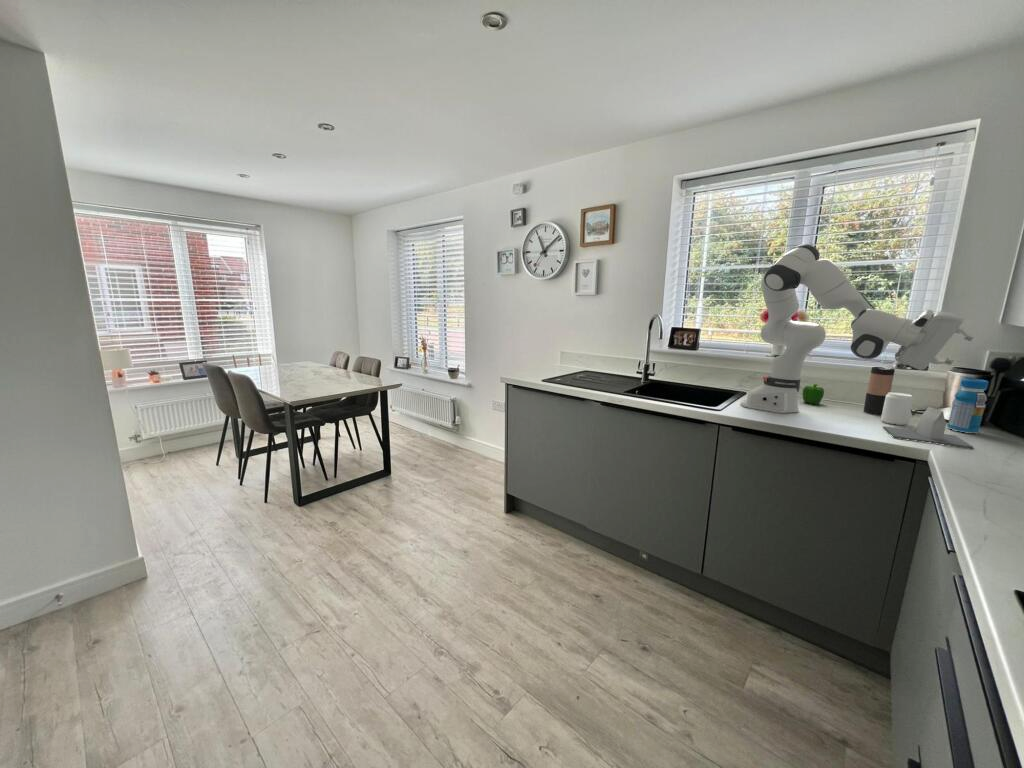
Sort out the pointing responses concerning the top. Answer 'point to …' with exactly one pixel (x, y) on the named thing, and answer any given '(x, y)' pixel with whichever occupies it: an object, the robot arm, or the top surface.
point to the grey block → (932, 424)
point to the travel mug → (878, 389)
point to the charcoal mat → (912, 435)
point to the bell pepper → (813, 394)
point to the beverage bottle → (968, 406)
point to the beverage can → (897, 408)
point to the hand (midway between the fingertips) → (962, 351)
